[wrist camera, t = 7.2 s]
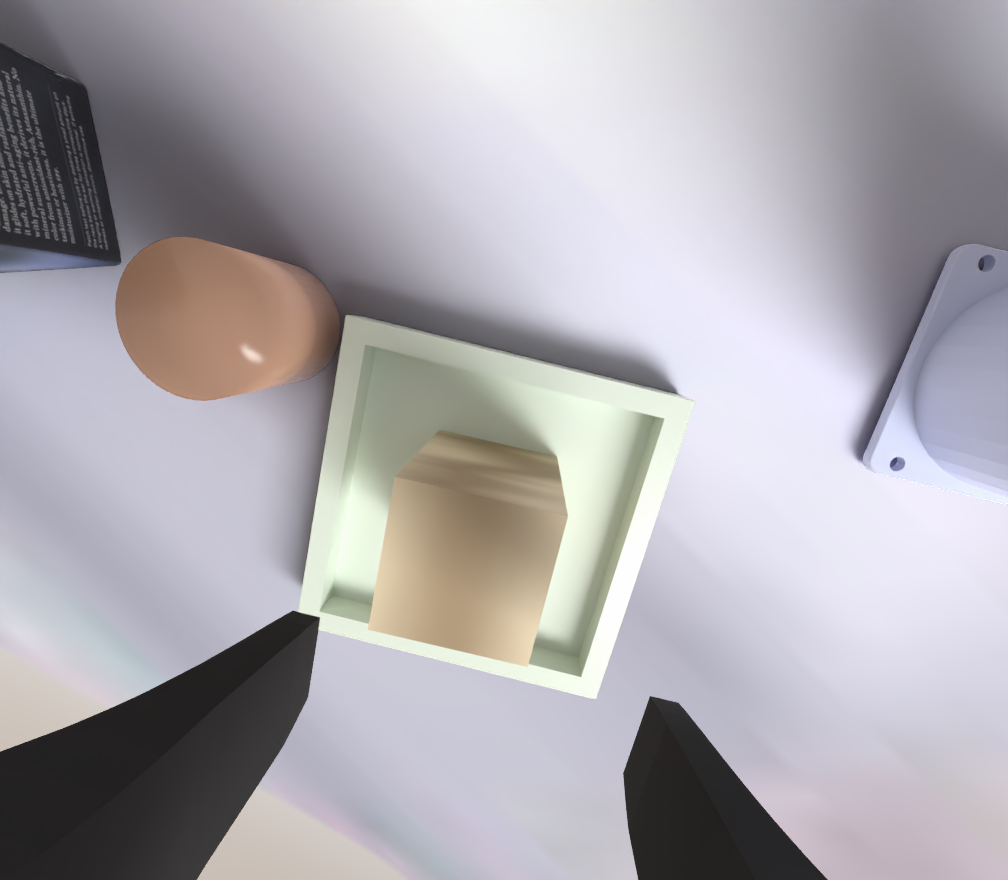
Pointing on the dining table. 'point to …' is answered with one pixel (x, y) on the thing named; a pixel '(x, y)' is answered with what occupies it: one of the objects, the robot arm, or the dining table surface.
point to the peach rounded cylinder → (222, 319)
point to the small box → (50, 172)
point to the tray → (505, 420)
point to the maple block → (470, 547)
